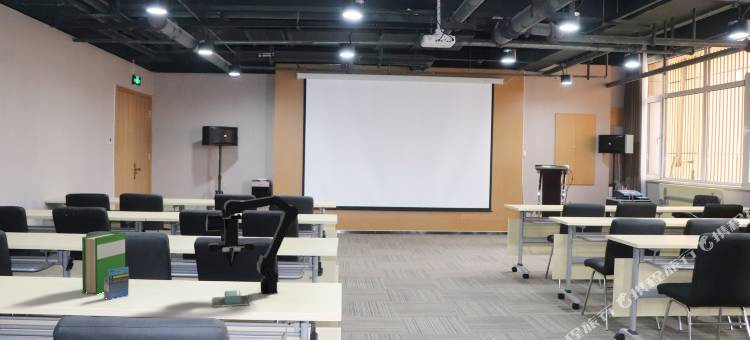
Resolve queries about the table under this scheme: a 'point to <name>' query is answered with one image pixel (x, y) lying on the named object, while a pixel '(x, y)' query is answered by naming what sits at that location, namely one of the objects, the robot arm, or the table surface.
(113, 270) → the label tape box
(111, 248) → the hardback book
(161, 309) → the table surface
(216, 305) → the mat
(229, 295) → the block
